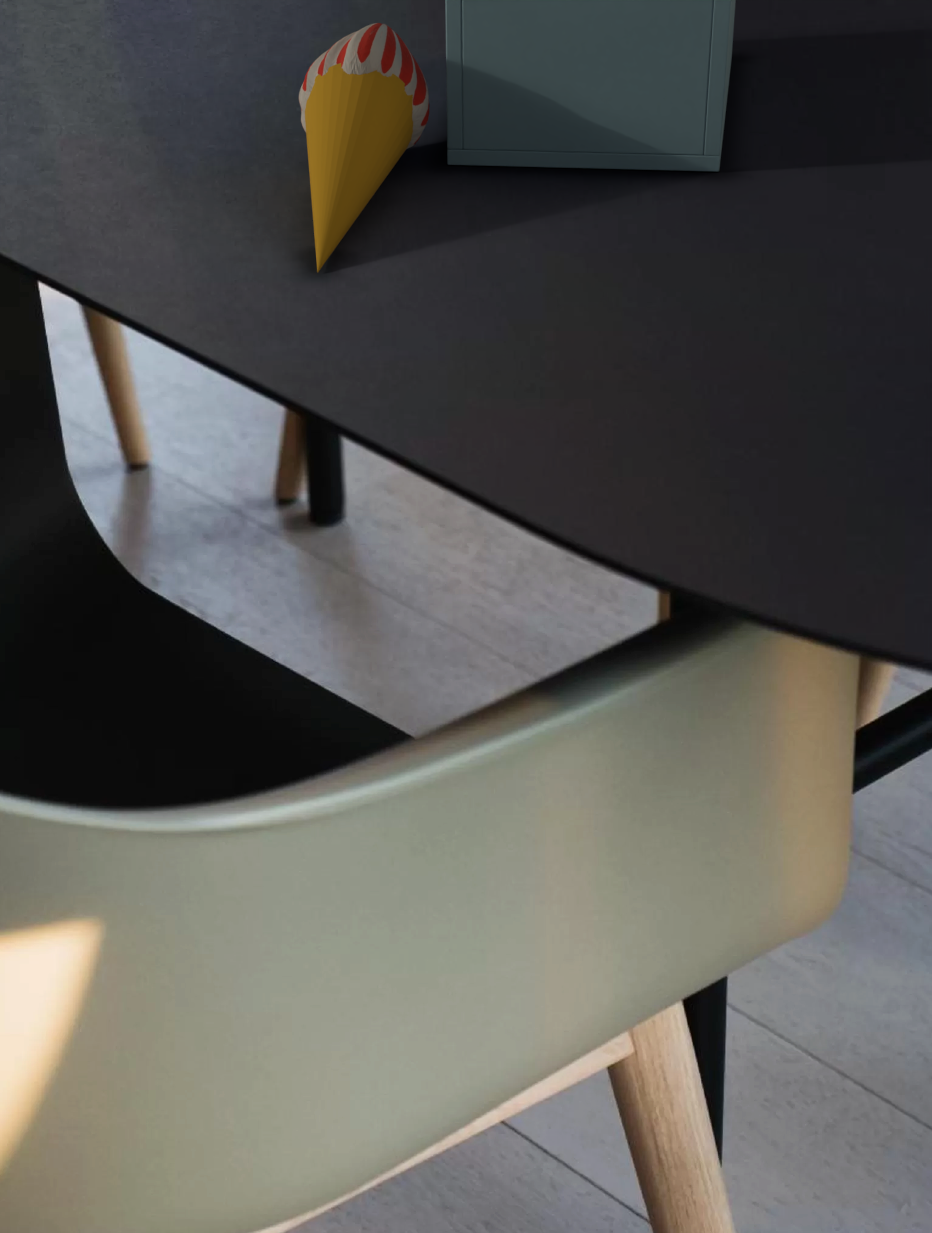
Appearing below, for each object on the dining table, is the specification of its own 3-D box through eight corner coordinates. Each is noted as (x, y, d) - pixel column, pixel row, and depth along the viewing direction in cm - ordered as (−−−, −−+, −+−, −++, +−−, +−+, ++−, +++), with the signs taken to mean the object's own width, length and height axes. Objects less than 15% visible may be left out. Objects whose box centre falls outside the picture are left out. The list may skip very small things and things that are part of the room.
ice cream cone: (305, 347, 106) (372, 99, 117) (409, 292, 102) (468, 41, 113) (222, 256, 102) (300, 9, 113) (327, 196, 98) (396, -53, 110)
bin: (731, 58, 120) (743, -111, 115) (719, 171, 109) (731, -11, 103) (485, 54, 122) (485, -113, 117) (447, 164, 111) (445, -15, 105)
